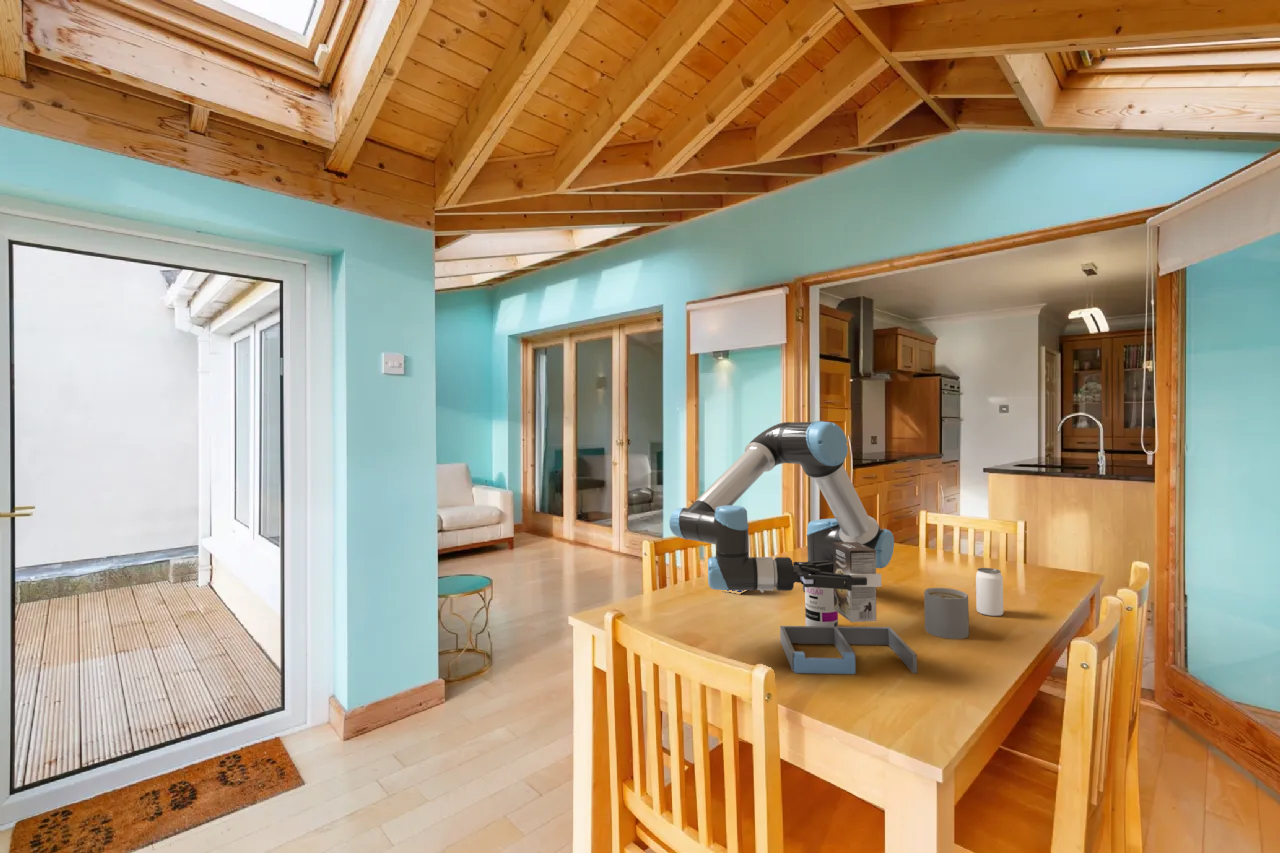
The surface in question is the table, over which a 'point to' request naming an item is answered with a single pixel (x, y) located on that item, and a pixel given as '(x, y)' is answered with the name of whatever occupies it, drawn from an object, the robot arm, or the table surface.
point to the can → (989, 592)
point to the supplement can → (820, 607)
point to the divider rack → (840, 647)
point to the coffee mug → (946, 613)
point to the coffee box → (861, 599)
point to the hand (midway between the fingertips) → (873, 574)
